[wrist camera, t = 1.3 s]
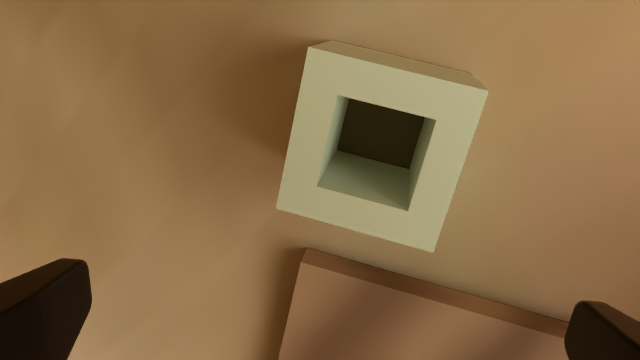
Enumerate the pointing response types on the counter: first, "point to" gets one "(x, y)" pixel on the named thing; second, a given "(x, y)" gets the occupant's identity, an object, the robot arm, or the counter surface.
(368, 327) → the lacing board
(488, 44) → the counter surface
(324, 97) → the square hollow cube
